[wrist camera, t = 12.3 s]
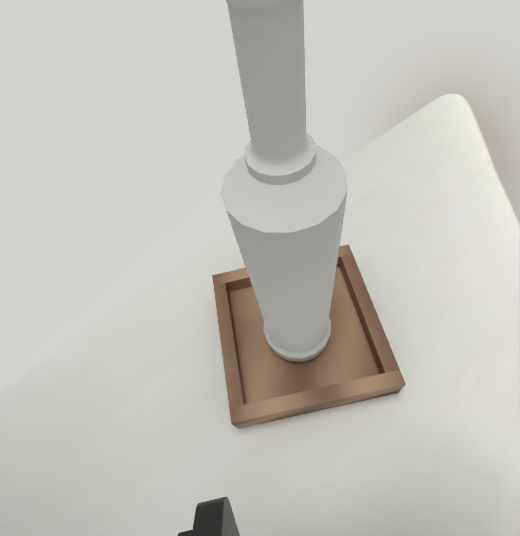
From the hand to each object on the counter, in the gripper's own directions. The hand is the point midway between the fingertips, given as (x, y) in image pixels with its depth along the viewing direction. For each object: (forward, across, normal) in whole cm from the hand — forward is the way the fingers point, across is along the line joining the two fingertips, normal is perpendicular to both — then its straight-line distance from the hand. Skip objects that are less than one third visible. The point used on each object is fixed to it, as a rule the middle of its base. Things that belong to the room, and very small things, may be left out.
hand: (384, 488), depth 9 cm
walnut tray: (+20, 0, +4) cm, 20 cm away
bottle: (+19, 0, +4) cm, 19 cm away
